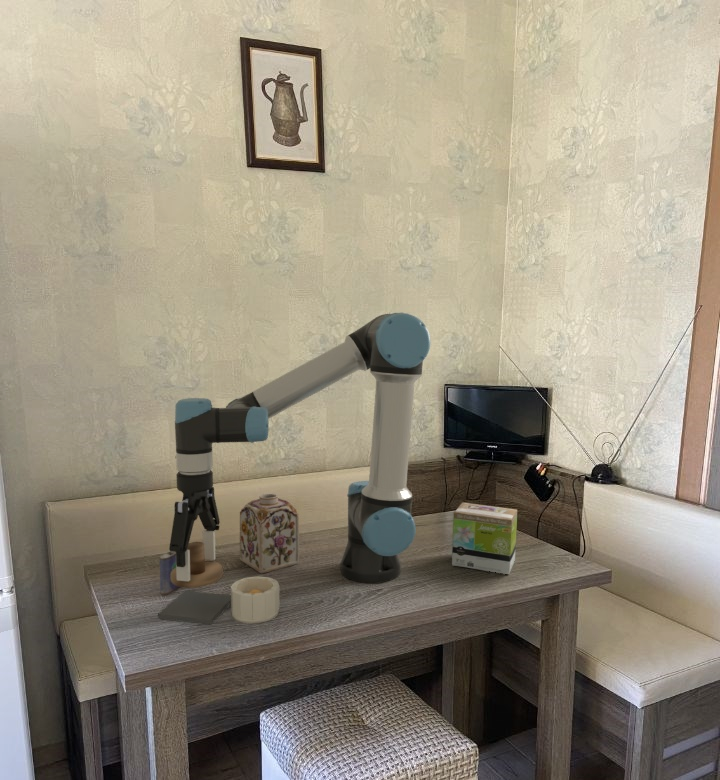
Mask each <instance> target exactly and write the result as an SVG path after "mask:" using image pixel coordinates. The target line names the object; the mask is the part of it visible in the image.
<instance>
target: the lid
mask: <svg viewBox="0 0 720 780" xmlns="http://www.w3.org/2000/svg"><path fill="white" fill-rule="evenodd" d="M187 550H190V581H189V582H188V581H178V580H177V575H176V568H174V569H173V570H172V571H171V574H170V576H171V582H172V583H173V584H174V585H176V586H179V587H181V588H184V589H185V588H186V589H195V588H202V587H208V586H209V585H212V584H214V583H217V582H219V580H221V578H222V577H223V575H224V572H223V571H224V570H223V566H222V564H220V563H218V562H217V561H214V560H206V559H205V551H204V543H203V541H193V542H189V544H188V548H187Z"/></svg>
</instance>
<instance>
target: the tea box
mask: <svg viewBox="0 0 720 780" xmlns="http://www.w3.org/2000/svg"><path fill="white" fill-rule="evenodd" d="M452 519H453V520H452V521H453V522H452V542H451V545H452V547H451V549H452V550H451V564H452V567H462V568H467V569H468V568H469V569H474V570H480V571H484V572H489V571H490V572H489V573H495V572H496V573H495V574H500V573H503V574H502V575H505V574H509V575H510V573H511V570H512V569H513V566H514V564H515V562H514V561H516V549H517V527H518V525H517V524H518V523H517V522H518V508H517V509H515V508H508V507H507V508H506V507H501V506H500V507H499V506H492V505H485V504H477V503H469V502H461V503H460V504H459V506H458V507H457V509H456V510H455V511H454V512H453V518H452Z"/></svg>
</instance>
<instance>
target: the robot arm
mask: <svg viewBox="0 0 720 780" xmlns="http://www.w3.org/2000/svg"><path fill="white" fill-rule="evenodd" d="M430 348H431V335H430V332H429V330H428V328H427V326H426V324H425V323H424V322H423V321H422V320H421V319H420V318H418V317H416V316H415V315H413V314H410V313H405V312H393V313H385V314H381V315H379V316H376V317H374V318H372V320H370V321H368V322H367V323H366V324H364V325H363V326H361V327H359V328H358V329H357V330H354V331H353V332H351V333H350V334H348V335H346V336H345V339H344V341H343V342H342V343H340V344H338V345H336V346H335V347H332V348H331V349H329V350H327V351H325V352H324V353H322V354H319V355H318V356H316V357H314V358H313V359H310V360H308V361H307V362H305V363H303V364H301V365H299V366H297V367H295V368H294V369H292V370H290V371H288V372H287V373H284V374H283V375H281V376H279V377H277V378H275V379H274V380H272V381H269V382H268V383H266V384H264V385H263V386H262V385H261V386H260V387H259V388H257V389H255V390H253V391H251V392H250V393H248V394H246V395H244V396H242V397H239V398H235V399H233V400H232V401H230V402H229V403H228V404H227V405H226V406H225V407H213V405H212V401H211V399H209V398H204V397H202V398H199V397H193V398H192V397H191V398H190V397H189V398H182V399H180V400H178V401H177V402H176V403H175V411H174V412H175V415H174V431H175V432H174V433H175V436H174V437H175V454H176V455H175V459H176V461H175V462H176V470H177V473H176V489H177V491H179V492H181V493H182V501H175V503H174V515H173V522H172V526H171V527H172V529H171V534H170V539H169V540H170V542H169V552H170V551H175V552H176V575H177V580H178V581H188V582H189V581H190V550H187V548H188V544H189V543H190V540H191V536H192V531H193V527H194V524H195V521H197V519H198V518H199V519H200V522H201V524H202V526H203V528H204V530H202V532H201V533H202V535H201V536H202V541H201V542H203V543H204V551H205V561H215V560H216V531H219V530H220V523H221V522H220V516H219V513H218V507H217V503H216V502H217V501H216V498H215V488H214V477H213V476H214V473H213V471H212V469H214V463H213V462H214V461H213V460H214V459H213V458H214V457H213V456H214V455H213V444H214V443H215V444H220V443H255V442H256V443H257V442H264V441H267V440H268V437H269V419H271V418H273V417H275V416H277V415H278V414H280V413H282V412H284V411H286V410H287V409H289V408H291V407H293V406H295V405H296V404H298V403H300V402H302V401H304V400H306V399H308V398H309V397H311V396H313V395H315V394H317V393H318V392H321V391H322V390H324V389H326V388H328V387H330V386H331V385H334V384H335V383H338V382H339V381H340V380H341V381H342V380H343V379H345V378H346V377H348V376H350V375H352V374H354V373H356V372H357V371H360V370H361V371H363V372H366V371H368V370H369V372H370V374H371V375H372V376H373V378H374V379H375V392H374V407H373V408H374V409H373V419H372V420H373V422H372V433H371V435H372V436H371V448H370V464H369V475H368V480H358V481H354V482H352V483H350V484H349V486H348V489H347V543H346V545H345V548H344V551H343V555H342V558H341V561H340V572H341V575H343V576H344V577H345V578H346V579H349V580H352V581H354V582H359V583H368V584H369V583H371V584H372V583H374V584H375V583H383V582H387V581H392V580H394V579H396V578H397V577H399V576H400V574H401V569H402V568H401V560H400V557H399V555H400V554H402V553H403V552H404V551H405V550H407V549H408V548H409V547H410V546H411V544H412V543H413V541H414V539H415V537H416V531H417V530H416V523H415V519H414V517H413V516H412V507H413V506H412V505H413V493H412V491H410V490H409V488H408V487H407V484H408V483H407V481H408V471H409V470H408V469H409V458H410V457H409V455H410V446H411V445H410V442H411V441H410V440H411V430H412V418H413V417H412V416H413V405H414V390H415V382H416V381H417V380H419V379H420V378H421V377H422V376H423V363H424V361H425V359H426V357H427V356H428V354H429V351H430V350H431V349H430Z"/></svg>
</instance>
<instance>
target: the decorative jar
mask: <svg viewBox="0 0 720 780" xmlns="http://www.w3.org/2000/svg"><path fill="white" fill-rule="evenodd" d="M278 497H279V496H278V495H277V494H275V493H265V494H260V496H259V499H258V498H257V499H252V500H251V501H249V502H247V503H246V504H245V505H244V506H243V508H241V509H240V511H239V558H240V559H239V560H240V562H242V563H244V564H245V565H247V566H249V567H250V568H252V569H254V570H255V571H256V572H258V573H259V574H265V573H269V572H274V571H278V570H281V569H285V568H287V567H288V568H289V567H291V566H294V565H295V566H296V565H298V564H299V563H300V562H299V558H300V529H299V528H300V523H299V522H300V518H299V512H298V511H297V509H296V507H295V506H294V504H293V503H292V501H289V500H288V499H284V498H280V497H279V498H278Z"/></svg>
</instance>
